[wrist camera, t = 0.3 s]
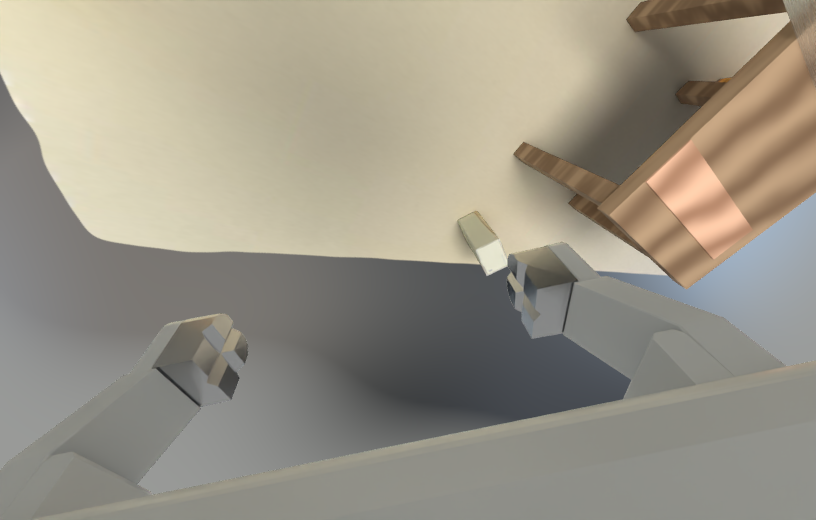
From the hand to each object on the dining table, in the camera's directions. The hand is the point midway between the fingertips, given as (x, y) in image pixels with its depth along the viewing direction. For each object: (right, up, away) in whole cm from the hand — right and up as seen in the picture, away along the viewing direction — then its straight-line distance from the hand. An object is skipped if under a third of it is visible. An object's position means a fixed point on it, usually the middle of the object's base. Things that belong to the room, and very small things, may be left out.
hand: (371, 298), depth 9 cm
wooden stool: (+36, +25, +45) cm, 63 cm away
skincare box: (+14, +8, +53) cm, 55 cm away
